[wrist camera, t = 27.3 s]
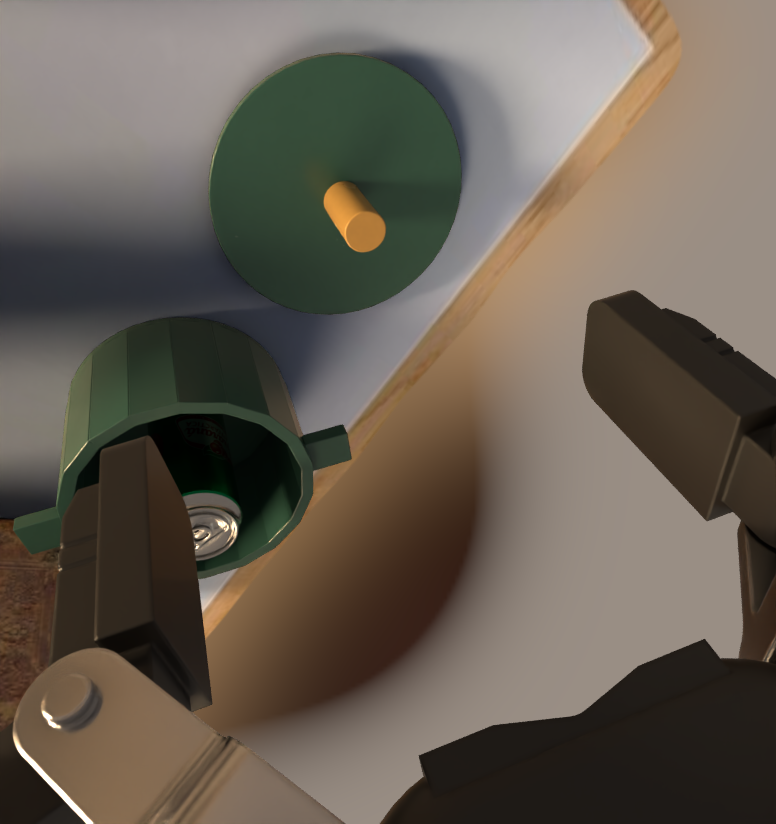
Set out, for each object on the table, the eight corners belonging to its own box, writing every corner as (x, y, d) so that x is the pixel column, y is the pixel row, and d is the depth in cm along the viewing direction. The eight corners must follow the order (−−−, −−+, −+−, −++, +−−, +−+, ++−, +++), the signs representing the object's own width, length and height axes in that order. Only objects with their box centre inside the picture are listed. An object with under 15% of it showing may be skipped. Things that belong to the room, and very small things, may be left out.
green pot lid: (170, 78, 33) (178, 107, 29) (450, 28, 36) (498, 47, 32) (243, 330, 44) (258, 381, 39) (457, 276, 46) (494, 318, 42)
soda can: (235, 405, 47) (263, 525, 38) (189, 448, 48) (205, 575, 39) (179, 369, 43) (194, 491, 34) (131, 417, 44) (134, 547, 36)
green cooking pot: (-19, 361, 39) (-49, 462, 32) (300, 284, 43) (335, 360, 36) (79, 516, 49) (73, 620, 42) (333, 442, 52) (366, 527, 45)
